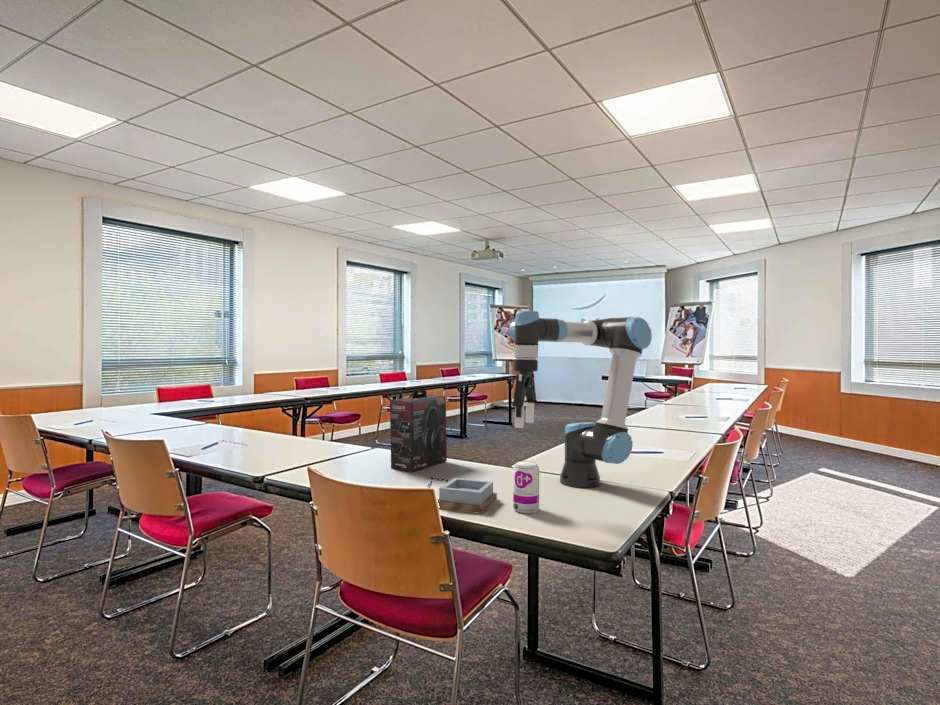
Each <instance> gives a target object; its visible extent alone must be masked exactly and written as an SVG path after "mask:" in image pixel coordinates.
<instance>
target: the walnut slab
mask: <svg viewBox="0 0 940 705" xmlns="http://www.w3.org/2000/svg"><path fill="white" fill-rule="evenodd" d="M496 499H497V500H498V494H497V492H493V494H492V495H491V496H490V497H489V498H488V499H487V500H486V501H485V502H484V503H482V504H481V505H473V504H465V503H456V502H448V501H440V500H439V498H438V499H437V500H438V503H439V506H440V509H441V508H442V510H448V509H449V511H456V510H460V511H459V512H465V511H468V512H467V513H473V512H478V513H477V514H482V513H483V512H484V511H485V510H486V509H487V508H488V507H489V506H490V505H491V504H492V503H493V502H494V501H495V500H496ZM497 500H496V501H497ZM496 501H495V502H496ZM495 502H494V503H495ZM494 503H493V504H494ZM493 504H492V505H493ZM492 505H491V506H492ZM491 506H490V507H491ZM490 507H489V508H490ZM489 508H488V509H489ZM488 509H487V510H488ZM487 510H486V511H487ZM486 511H485V512H486ZM485 512H484V513H485ZM484 513H483V514H484Z"/></svg>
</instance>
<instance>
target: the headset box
mask: <svg viewBox="0 0 940 705" xmlns="http://www.w3.org/2000/svg"><path fill="white" fill-rule="evenodd" d="M446 398H447V396H446V395H437V394H427V389H426V388H425V389H418V390H413V393H412V396H411V397H402V398H395V399H390V400H389V412H390V413H389V418H390V420H389V422H390V424H389V426H390V429H389V430H390V469H392V470H398V471H405V472H410V473H412V472H416V471H419V470H421V469H425V468H427V467H428V468H429V467H432V466H436V465H438V464H441V463H445V462H447V461H448V460H447V452H448V451H447V450H448V449H447V405H446V404H447V399H446Z"/></svg>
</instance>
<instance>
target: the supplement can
mask: <svg viewBox="0 0 940 705" xmlns="http://www.w3.org/2000/svg"><path fill="white" fill-rule="evenodd" d="M538 464H539V463H537V462H536V461H532V460H531V461H529V460H521V461H520V460H519V461H516V462H515V464H514V466H513V482H512V483H513V486H512V488H513V493H512V494H513V495H512V496H513V498H512V500H513V502H512V506H513V509H514V511H515V510H516V512H517V513H519V512H520V513H521V514H534V512H535V513H537V512H538V510H539V509H540V467H539V465H538ZM536 511H537V512H536Z"/></svg>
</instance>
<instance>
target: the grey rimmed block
mask: <svg viewBox="0 0 940 705" xmlns="http://www.w3.org/2000/svg"><path fill="white" fill-rule="evenodd" d="M493 493H494V481H491V480H490V481H488V480H478V479H469V478H468V479H467V478H462V477H461V478H460V477H459V478H458V477H454V478H453V479H450V480H449V481H448V482H446V483H445V484H443V485H442V486H440V487H439V494H438V495H439V498H438V499H439V500H440V501H448V502H456V503H465V504H473V505H481V504H482V503H484V502H485V501H486V500H487V499H488V498H489V497H490V496H491V495H492V494H493Z"/></svg>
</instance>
